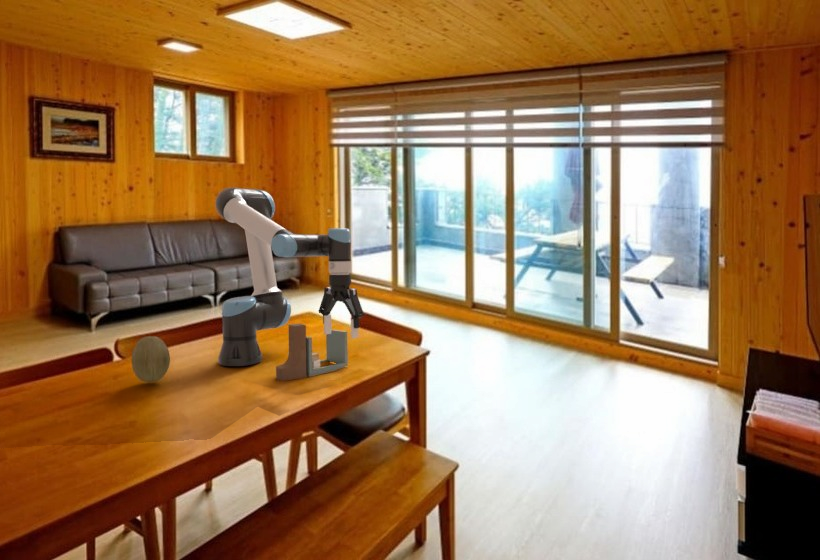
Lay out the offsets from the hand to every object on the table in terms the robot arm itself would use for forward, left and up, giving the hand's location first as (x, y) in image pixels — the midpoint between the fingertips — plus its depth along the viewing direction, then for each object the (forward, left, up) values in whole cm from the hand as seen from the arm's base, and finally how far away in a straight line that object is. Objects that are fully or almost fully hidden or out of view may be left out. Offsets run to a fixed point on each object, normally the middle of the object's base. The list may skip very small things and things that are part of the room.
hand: (340, 336), depth 188 cm
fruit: (-39, -47, -13) cm, 63 cm away
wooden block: (-8, -15, -13) cm, 22 cm away
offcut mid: (-9, -7, -11) cm, 15 cm away
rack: (-9, -2, -13) cm, 16 cm away
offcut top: (-9, -7, -8) cm, 14 cm away
